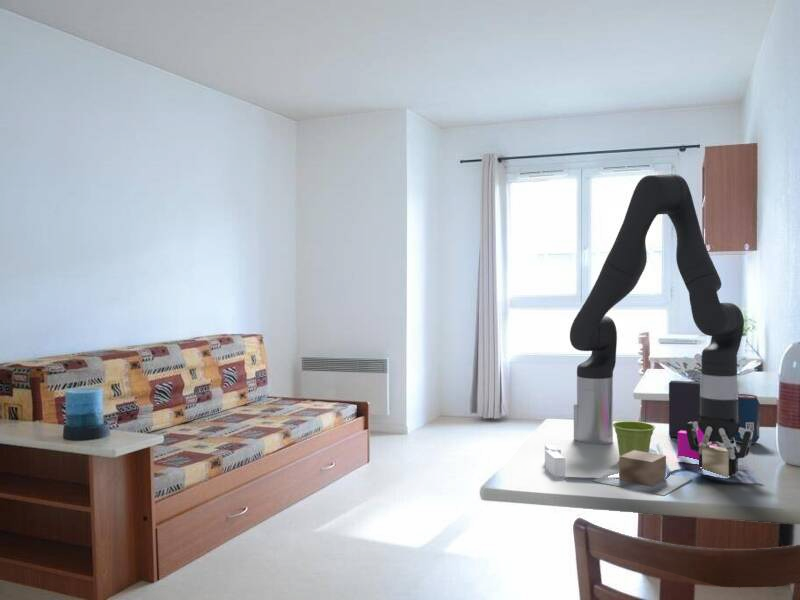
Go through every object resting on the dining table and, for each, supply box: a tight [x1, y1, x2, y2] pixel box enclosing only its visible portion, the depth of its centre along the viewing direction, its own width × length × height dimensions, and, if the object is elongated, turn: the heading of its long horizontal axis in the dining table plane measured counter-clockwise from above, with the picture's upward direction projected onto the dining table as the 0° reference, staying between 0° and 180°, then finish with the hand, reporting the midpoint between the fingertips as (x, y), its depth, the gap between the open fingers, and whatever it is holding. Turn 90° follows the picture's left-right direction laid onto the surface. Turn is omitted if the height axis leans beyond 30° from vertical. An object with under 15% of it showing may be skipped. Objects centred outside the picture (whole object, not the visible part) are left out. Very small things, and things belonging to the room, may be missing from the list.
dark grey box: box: [668, 380, 700, 438], centre depth 189 cm, size 11×4×15 cm, turn 63°
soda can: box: [734, 393, 761, 444], centre depth 184 cm, size 7×7×12 cm
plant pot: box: [613, 420, 656, 456], centre depth 164 cm, size 9×9×9 cm
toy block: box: [677, 427, 718, 460], centre depth 167 cm, size 15×6×8 cm, turn 143°
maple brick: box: [701, 445, 730, 477], centre depth 152 cm, size 5×5×6 cm
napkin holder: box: [544, 444, 566, 477], centre depth 156 cm, size 15×11×6 cm
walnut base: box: [592, 450, 693, 497], centre depth 147 cm, size 15×15×6 cm
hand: (718, 472), depth 152 cm, fingers closed on maple brick, 5 cm apart
